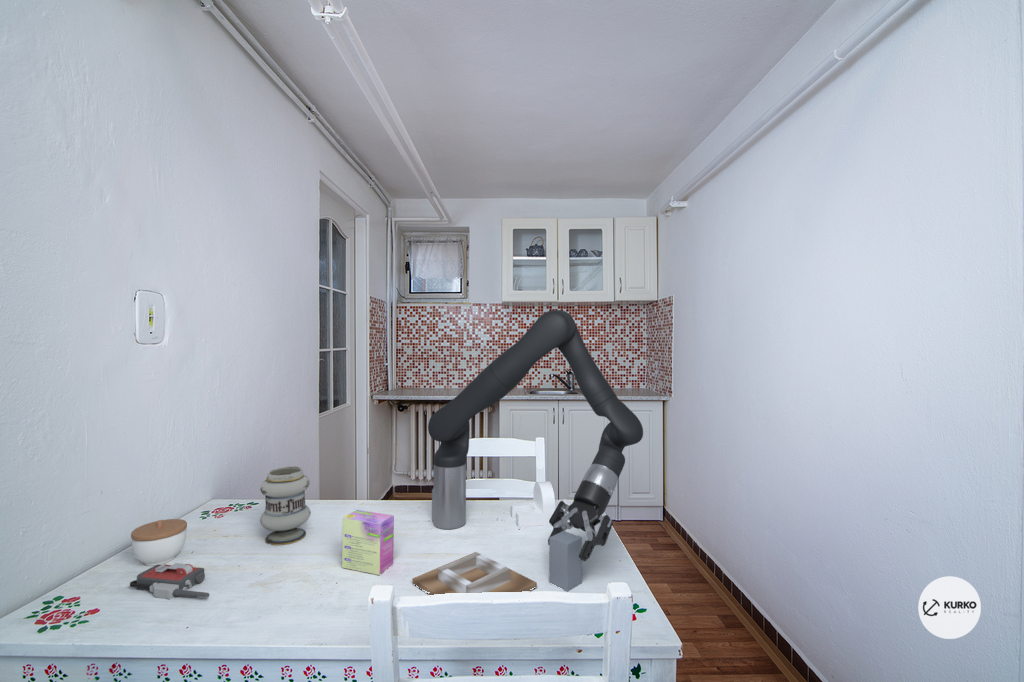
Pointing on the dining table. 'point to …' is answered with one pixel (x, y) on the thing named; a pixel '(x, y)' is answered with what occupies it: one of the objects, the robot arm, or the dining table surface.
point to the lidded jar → (158, 541)
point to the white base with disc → (537, 507)
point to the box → (367, 541)
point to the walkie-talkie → (170, 580)
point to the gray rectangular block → (565, 560)
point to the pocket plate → (473, 577)
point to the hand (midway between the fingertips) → (565, 552)
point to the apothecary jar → (285, 505)
